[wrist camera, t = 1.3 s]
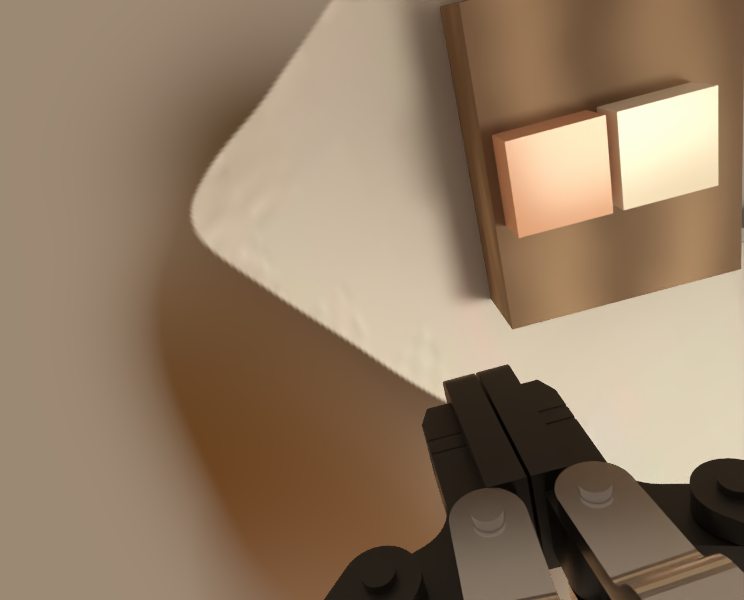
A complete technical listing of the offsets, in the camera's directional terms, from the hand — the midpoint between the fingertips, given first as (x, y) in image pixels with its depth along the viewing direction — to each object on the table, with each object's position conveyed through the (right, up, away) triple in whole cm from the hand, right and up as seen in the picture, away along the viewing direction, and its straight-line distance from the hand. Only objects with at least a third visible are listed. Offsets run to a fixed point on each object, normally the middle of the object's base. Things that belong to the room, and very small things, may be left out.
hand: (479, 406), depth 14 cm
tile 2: (+6, +9, +15) cm, 18 cm away
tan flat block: (+9, +11, +19) cm, 24 cm away
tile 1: (+11, +10, +15) cm, 21 cm away
